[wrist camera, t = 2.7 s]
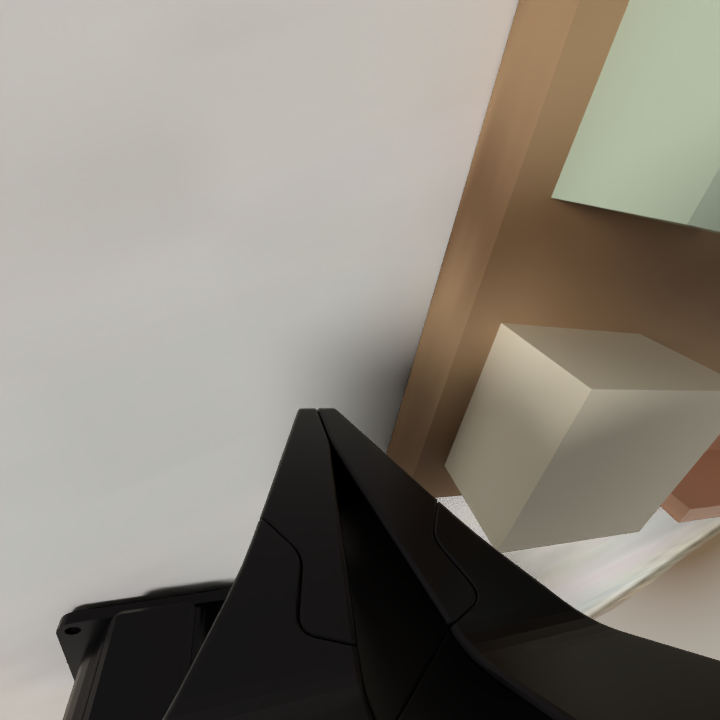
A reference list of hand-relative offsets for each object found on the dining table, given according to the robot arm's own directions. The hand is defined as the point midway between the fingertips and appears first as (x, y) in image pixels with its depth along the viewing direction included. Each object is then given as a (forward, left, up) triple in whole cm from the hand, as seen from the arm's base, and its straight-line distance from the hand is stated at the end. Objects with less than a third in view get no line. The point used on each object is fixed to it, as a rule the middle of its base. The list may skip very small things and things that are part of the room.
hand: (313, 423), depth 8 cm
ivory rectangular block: (0, -7, -1) cm, 7 cm away
